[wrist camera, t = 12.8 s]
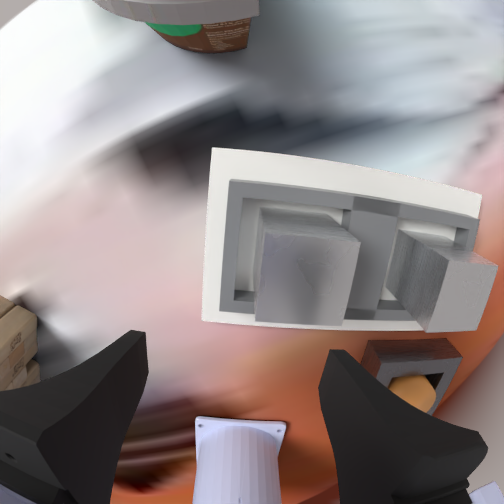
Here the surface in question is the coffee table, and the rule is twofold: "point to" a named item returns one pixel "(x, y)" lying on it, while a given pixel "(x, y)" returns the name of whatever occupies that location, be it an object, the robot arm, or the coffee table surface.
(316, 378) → the coffee table surface
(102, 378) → the robot arm
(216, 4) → the food container
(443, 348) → the button housing
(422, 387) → the button
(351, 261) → the billet
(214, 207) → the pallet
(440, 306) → the seated billet
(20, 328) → the block tower
